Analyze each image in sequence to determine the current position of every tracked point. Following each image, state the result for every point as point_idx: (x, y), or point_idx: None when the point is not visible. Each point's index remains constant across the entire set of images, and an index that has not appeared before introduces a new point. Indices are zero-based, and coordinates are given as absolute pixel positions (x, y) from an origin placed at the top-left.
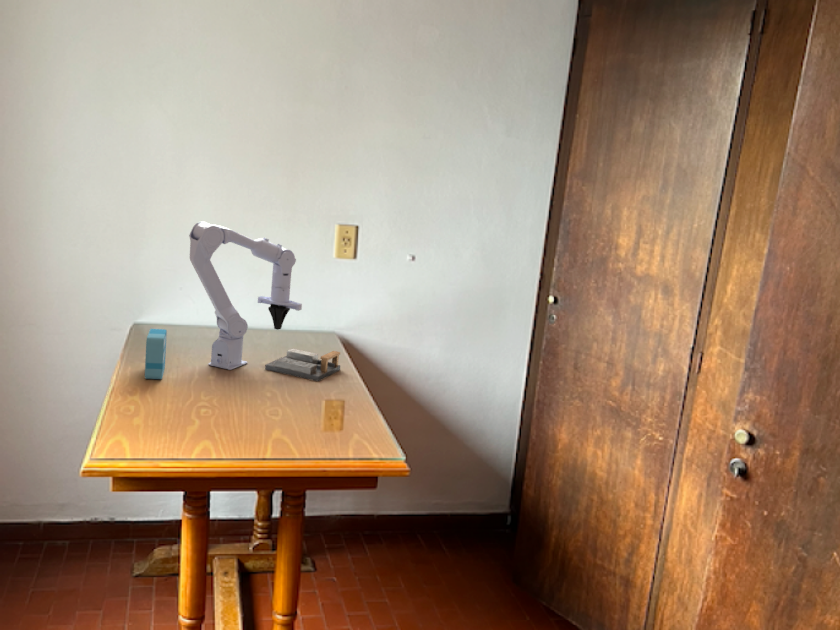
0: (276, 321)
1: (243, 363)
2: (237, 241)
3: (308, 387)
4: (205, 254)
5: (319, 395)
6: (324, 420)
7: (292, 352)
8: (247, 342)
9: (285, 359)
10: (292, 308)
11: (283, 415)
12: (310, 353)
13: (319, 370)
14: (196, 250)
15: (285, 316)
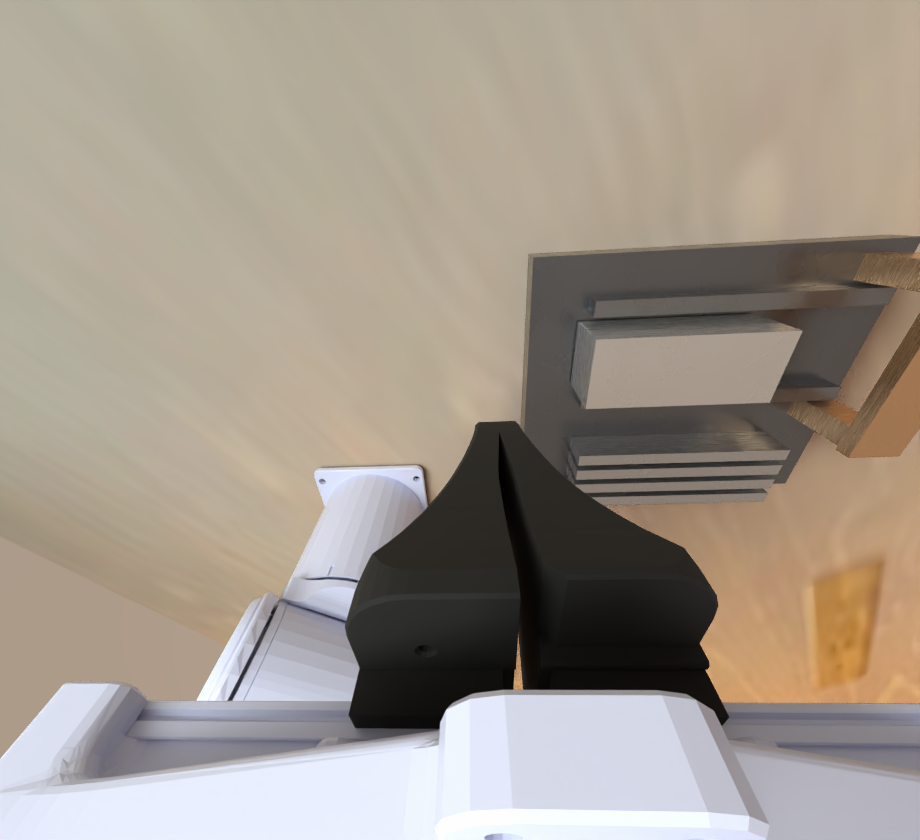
0: (510, 540)
1: (424, 493)
2: None
3: (740, 532)
4: None
5: (790, 565)
6: (818, 660)
7: (623, 405)
8: (71, 91)
9: (611, 474)
10: (834, 731)
11: (715, 675)
12: (745, 360)
13: (780, 412)
14: None
15: (579, 491)
